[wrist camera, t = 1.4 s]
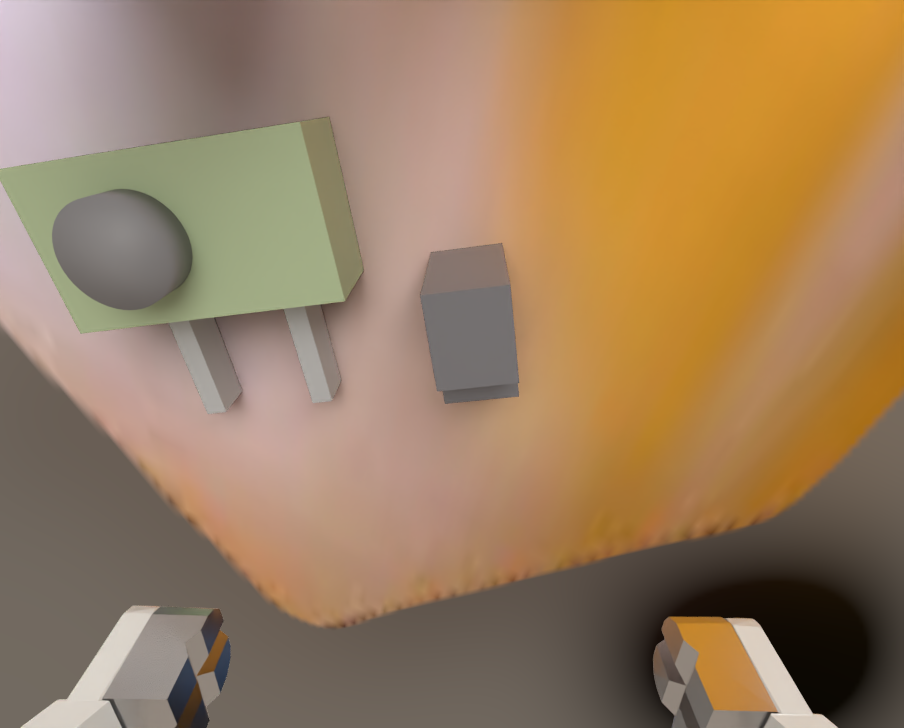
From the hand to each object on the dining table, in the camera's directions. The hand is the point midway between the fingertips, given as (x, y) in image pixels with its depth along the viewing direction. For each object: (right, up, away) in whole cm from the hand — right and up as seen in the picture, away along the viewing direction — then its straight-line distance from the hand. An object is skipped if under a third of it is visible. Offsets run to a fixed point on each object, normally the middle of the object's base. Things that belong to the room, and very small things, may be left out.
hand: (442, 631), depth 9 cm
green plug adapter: (-12, +10, +20) cm, 26 cm away
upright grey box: (+1, +8, +21) cm, 23 cm away
